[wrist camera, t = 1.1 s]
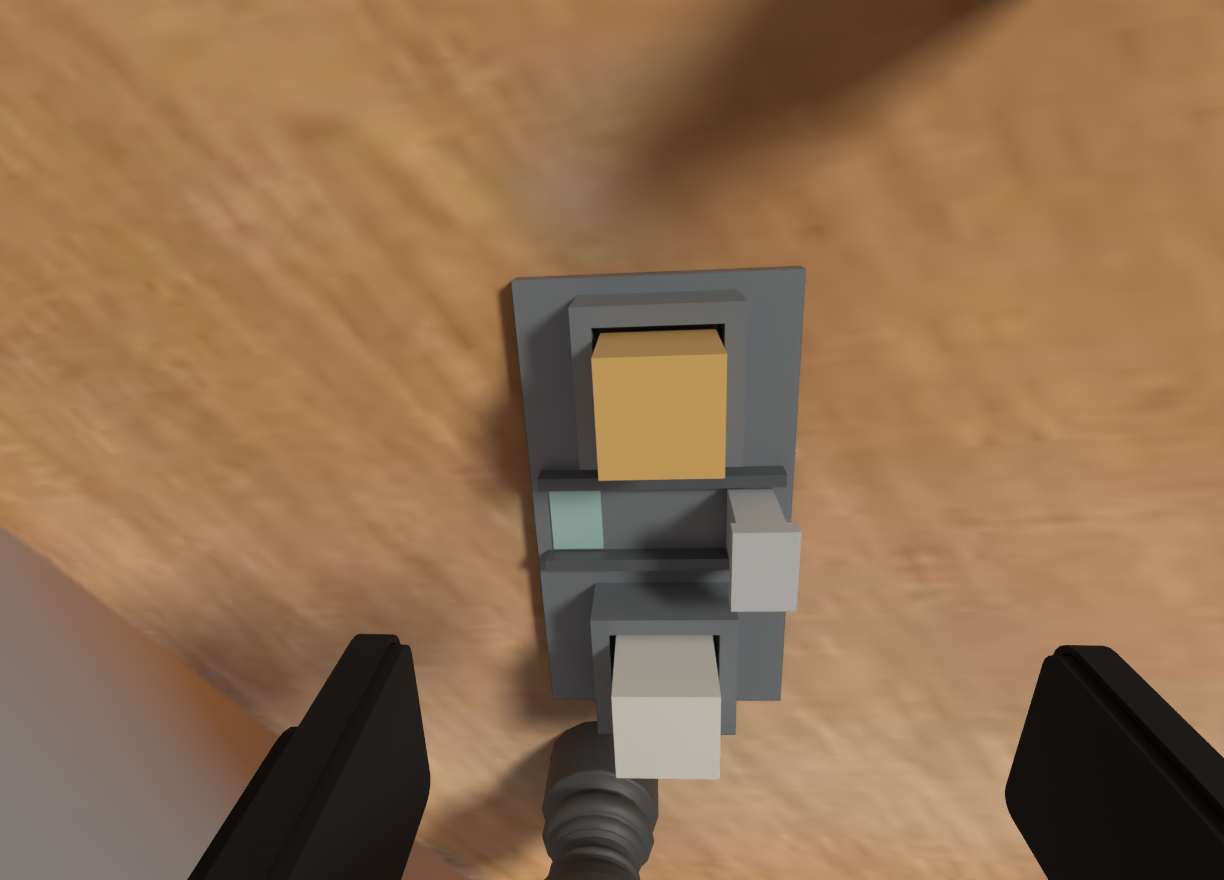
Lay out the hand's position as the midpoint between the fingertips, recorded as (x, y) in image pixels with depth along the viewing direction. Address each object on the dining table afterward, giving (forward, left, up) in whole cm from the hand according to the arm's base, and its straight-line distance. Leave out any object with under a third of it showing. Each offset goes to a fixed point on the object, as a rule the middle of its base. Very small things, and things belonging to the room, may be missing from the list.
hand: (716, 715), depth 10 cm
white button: (+1, +14, -17) cm, 22 cm away
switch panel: (+1, +7, -21) cm, 22 cm away
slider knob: (-3, +7, -19) cm, 21 cm away
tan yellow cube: (+1, 0, -17) cm, 17 cm away
